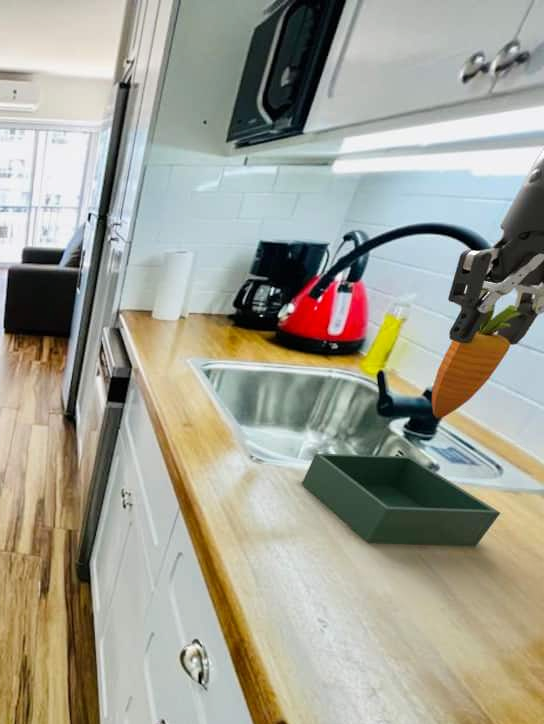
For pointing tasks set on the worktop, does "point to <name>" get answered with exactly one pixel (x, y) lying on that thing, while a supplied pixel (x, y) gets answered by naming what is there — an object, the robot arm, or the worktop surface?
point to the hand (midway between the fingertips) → (482, 341)
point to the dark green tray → (397, 500)
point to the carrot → (470, 363)
